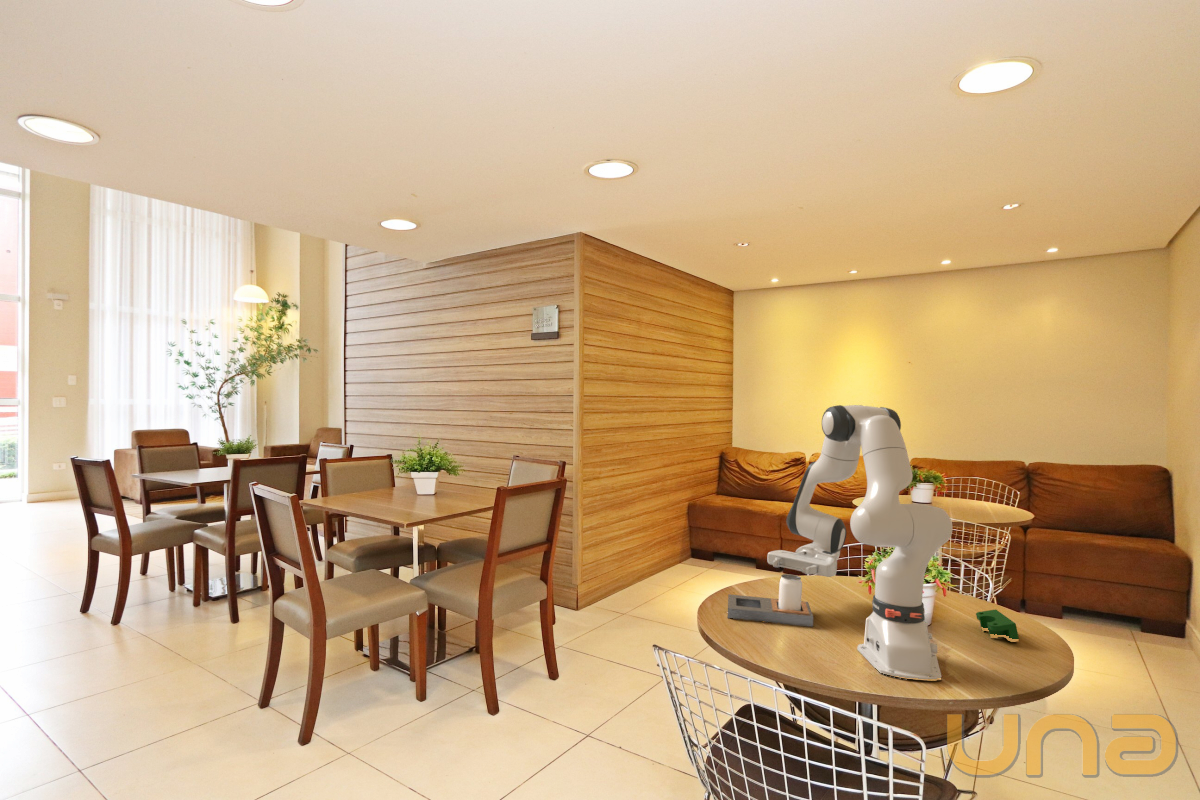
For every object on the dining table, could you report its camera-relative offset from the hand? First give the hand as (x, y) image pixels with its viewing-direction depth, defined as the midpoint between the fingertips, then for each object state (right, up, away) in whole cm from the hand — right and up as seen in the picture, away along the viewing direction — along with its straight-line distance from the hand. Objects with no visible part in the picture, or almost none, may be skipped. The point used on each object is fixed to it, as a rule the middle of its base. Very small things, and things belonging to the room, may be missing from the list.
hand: (789, 567), depth 184 cm
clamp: (+56, -17, -9) cm, 59 cm away
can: (0, -15, +1) cm, 15 cm away
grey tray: (-6, -15, +2) cm, 16 cm away
